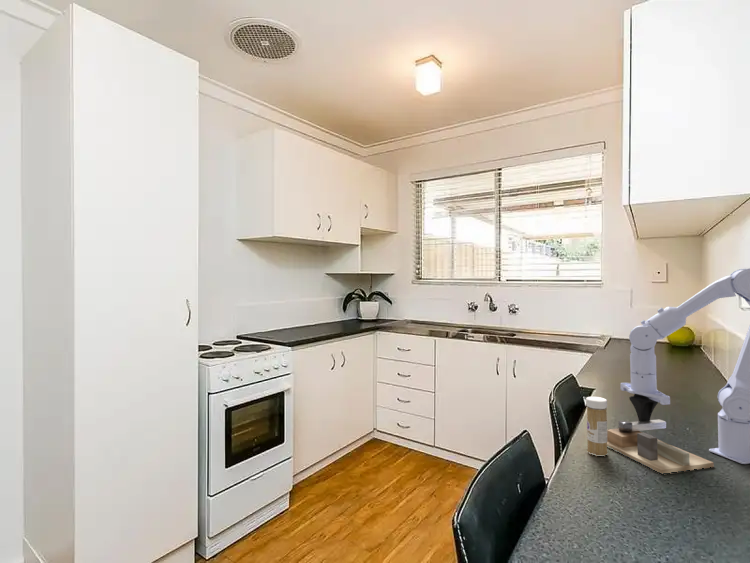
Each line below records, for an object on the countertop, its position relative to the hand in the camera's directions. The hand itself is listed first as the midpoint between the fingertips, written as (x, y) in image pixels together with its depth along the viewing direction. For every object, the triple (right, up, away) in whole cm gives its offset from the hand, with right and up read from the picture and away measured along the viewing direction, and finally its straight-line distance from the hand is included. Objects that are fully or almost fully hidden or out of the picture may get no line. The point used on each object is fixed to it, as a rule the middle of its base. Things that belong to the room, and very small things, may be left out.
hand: (644, 424), depth 110 cm
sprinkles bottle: (-16, -5, -7) cm, 18 cm away
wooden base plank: (-3, -4, -8) cm, 10 cm away
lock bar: (-2, 0, -2) cm, 3 cm away
